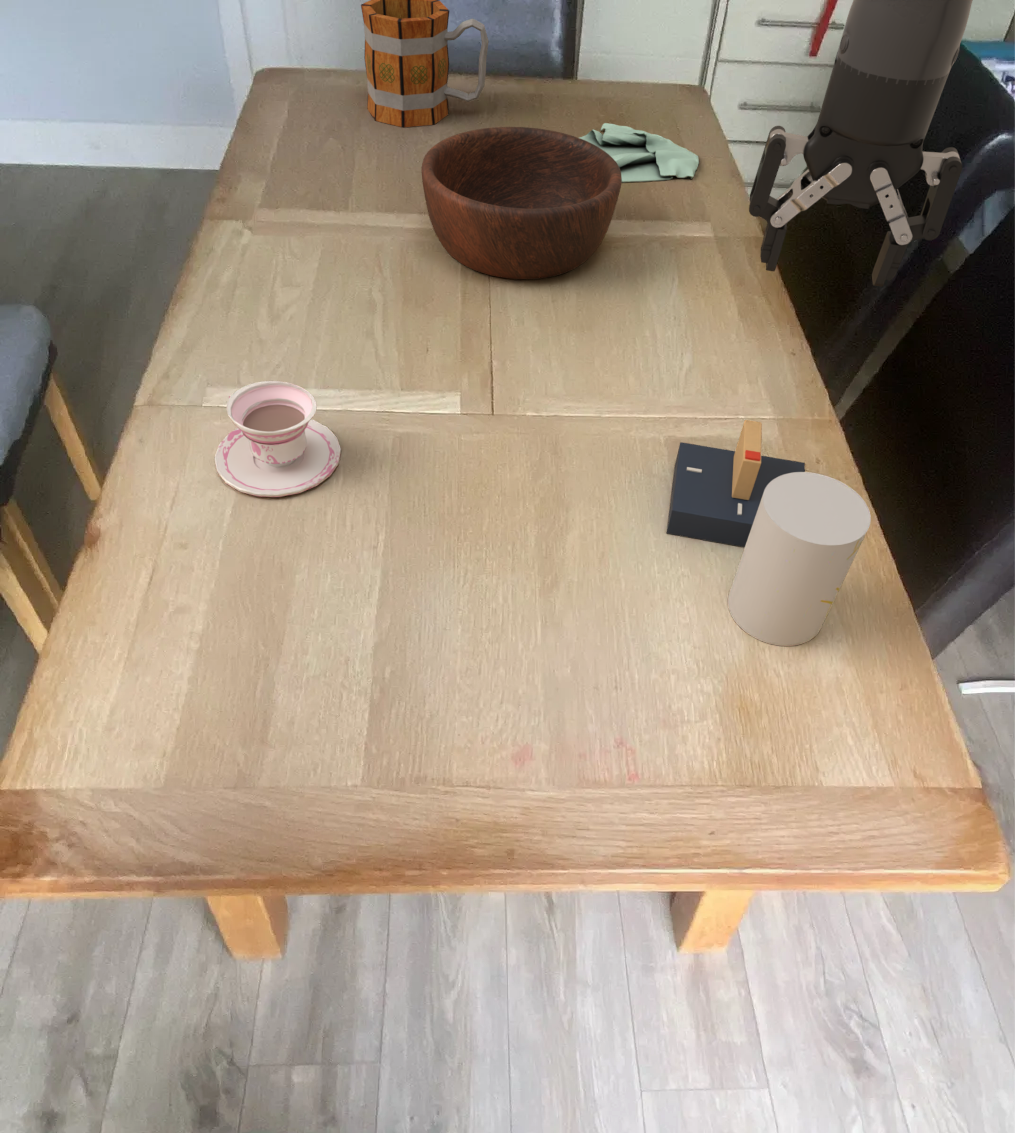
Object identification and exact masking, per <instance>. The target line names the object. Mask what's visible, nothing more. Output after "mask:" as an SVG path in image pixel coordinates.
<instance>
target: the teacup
mask: <svg viewBox="0 0 1015 1133" xmlns="http://www.w3.org/2000/svg"><path fill="white" fill-rule="evenodd" d="M317 408H318V403H317V400H316V398H315V397H314V395H313V394H312V393H311V392H310V391H308V390H307V389H305V387H302V386H300V385H297V384H295V383H292V382H289V381H282V380H262V381H261V380H260V381H256V382H251V383H248V384H246V385H244V386H242V387H240V388H238V389H236V390H235V391H234V392H232V394H231V395H229V396H228V400H227V402H226V413H227V416H228V417H229V418H230V420H231V422H232V424H233V425H234V426H235V429H233V430H232V431H230V432H229V433H227V434H226V435H225V437H223V439H222V440H221V441H220V443H219V444H218V446H217V448H216V449H217V450H216V452H215V455H214V463H215V470H216V473H217V475H219V477H220V478H221V479H222V481H223V482H224V483H225V484H226V485H228V486H229V487H231V488H233V489H234V490H236V491H238V492H239V493H243V494H247V495H250V496H254V497H260V498H261V497H262V498H266V497H267V498H281V497H285V496H291V495H297V494H301V493H303V492H305V491H307V490H310V489H313V488H315V487H317V486H319V485H320V484H321V483H324V481H325V480H327V479H328V478H329V477H331V476H332V475H333V473H334V472H335V470H336V468H338V467H337V466H339V464H340V459H341V453H342V449H341V448H342V447H341V446H340V442H339V439H338V436H336V434H334V432H333V431H332V430H331V429H330V428H329V427H328V426H326V425H324V424H323V423H321V422H319V421H317V420H315V419H314V416H315V415H316V413H317Z"/></svg>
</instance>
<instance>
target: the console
mask: <svg viewBox="0 0 1015 1133" xmlns="http://www.w3.org/2000/svg"><path fill="white" fill-rule="evenodd" d="M735 451H736V450H730V449H724V448H720V447H719V448H718V447H712V446H707V445H700V444H694V443H689V442H682V441H680V442H679V444H678V450H677V453H676V454H677V455H676V459H675V462H674V466H673V467H674V468H673V474H672V475H673V477H672V484H671V493H670V500H669V509H668V517H667V526H666V531H665V532H666V534H667V535H672V536H679V537H684V538H689V539H690V538H691V539H694V540H701V541H707V542H712V543H717V544H718V543H719V544H724V545H729V546H735V547H740V548H745V545H746V542H747V539H748V537H749V534H750V531H751V528H752V525H753V522H754V519H755V516H756V513H757V510H758V508H759V505H760V502H761V499H762V496H763V493H764V490H765V488H766V487H767V485H768V484H769V483H770V482H771V481H772V480H773V479H775V478H777V477H779V476H781V475H784V474H788V473H794V472H806V464H805V462H802V461H797V460H791V459H786V458H785V459H784V458H778V457H772V456H766V455H761V466H760V469H759V472H758V475H757V478H756V481H755V484H754V487H753V490H752V493H751V496H750V499H749V500H744V499H738V498H732V481H733V461H734V454H735Z"/></svg>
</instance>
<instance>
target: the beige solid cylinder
mask: <svg viewBox="0 0 1015 1133" xmlns="http://www.w3.org/2000/svg"><path fill="white" fill-rule="evenodd" d="M871 520H872V517H871V512H870V508H869V506H868V505H867V502H866V501H865V499H864V498H863V497H862V496H861V495H860V494H859V493H858V492H857V491H856V490H854V489H853V488H852V487H851V486H849V485H847V484H846V483H844V482H842V481H840V480H839V479H837V478H834V477H831V476H828V475H825V474H822V473H817V472H811V471H809V472H808V471H805V472H794V473H788V474H784V475H781V476H779V477H777V478H775V479H773V480H772V481H771V482H770V483H769V484H768V485H767V487H766V488H765V490H764V493H763V496H762V499H761V502H760V505H759V508H758V510H757V513H756V516H755V519H754V522H753V525H752V528H751V531H750V534H749V537H748V539H747V542H746V545H745V547H743V551H742V554H741V557H740V560H739V563H738V566H737V569H736V572H735V574H734V576H733V579H732V580H733V581H732V583H731V586H730V589H729V593H728V596H727V608H728V611H729V613H730V616H731V617H732V619H733V621H734V622H735V623H736V625H737V626H738V627H739V628H740V629H742V631H744V633H746V634H748V635H749V636H751V637H753V638H755V639H756V640H758V641H760V642H762V643H763V642H764V643H765V644H769V645H774V646H779V647H794V646H798V645H801V644H803V645H804V644H806V643H807V642H809V641H811V640H812V639H814V638H815V637H816V636H817V635H818V634H819V633H820V631H821V629H822V627H823V625H824V623H825V621H826V619H827V617H828V614H829V612H830V611H831V608H832V606H833V604H834V602H835V601H836V600H835V599H836V598H837V596H838V594H839V591H840V589H841V587H842V585H843V583H844V581H845V579H846V577H847V575H848V572H849V570H850V569H851V566H852V564H853V562H854V560H855V558H856V556H857V554H858V552H859V550H860V548H861V546H862V543H863V541H864V539H865V537H866V535H867V533H868V532H869V531H868V530H869V528H870V526H871V523H872V521H871Z"/></svg>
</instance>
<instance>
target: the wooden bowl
mask: <svg viewBox="0 0 1015 1133" xmlns="http://www.w3.org/2000/svg"><path fill="white" fill-rule="evenodd" d="M422 159H423V160H422V163H421V180H422V181H421V182H422V188H423V194H424V199H425V204H426V209H427V213H428V217H429V220H430V224H431V226H432V229H433V232H434V233H435V236H436V237H437V239H438V241H439V242H440V244H441V245H442V247H443V249H444V250H445V251H446V252H447V254H449V255H450V257H452V258H453V259H454V260H456V261H457V262H458V263H460V264H461V265H463V266H465V267H466V268H469V269H471V270H473V271H475V272H478V273H481V274H483V275H487V276H492V277H496V278H502V279H503V278H504V279H510V280H538V279H539V280H541V279H547V278H552V277H556V276H560V275H563V274H566V273H569V272H571V271H574V270H576V268H578V267H579V266H581V265H583V264H584V263H586V262H587V261H588V259H590V258H591V256H592V255H593V254H594V253H595V252H596V251H597V249H598V248H599V246H600V245H601V244H602V241H603V240H604V238H605V236H606V234H607V232H608V230H609V228H610V226H611V222H612V219H613V217H614V213H615V210H616V206H617V203H618V200H619V197H620V192H621V188H622V183H623V182H622V177H621V171H620V168H619V166H618V164H617V163H616V161H615V160H614V159H613V158H612V157H611V156H610V155H609V154H608V153H606V152H605V151H604V150H602V149H601V148H599V147H598V146H596V145H594V144H592V143H590V142H588V141H585V140H583V139H580V138H579V137H577V136H574V135H571V134H568V133H564V132H561V131H555V130H550V129H544V128H538V127H527V126H494V127H484V128H478V129H471V130H467V131H463V132H460V133H457V134H454V135H451V136H449V137H446V138H445V139H442V140H441V141H439V142H438V143H436V144H435V145H433V146H432V147H431V148H430V149H429V150H428V151H427V152H426V153H425V155H424V156H423V158H422Z"/></svg>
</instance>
